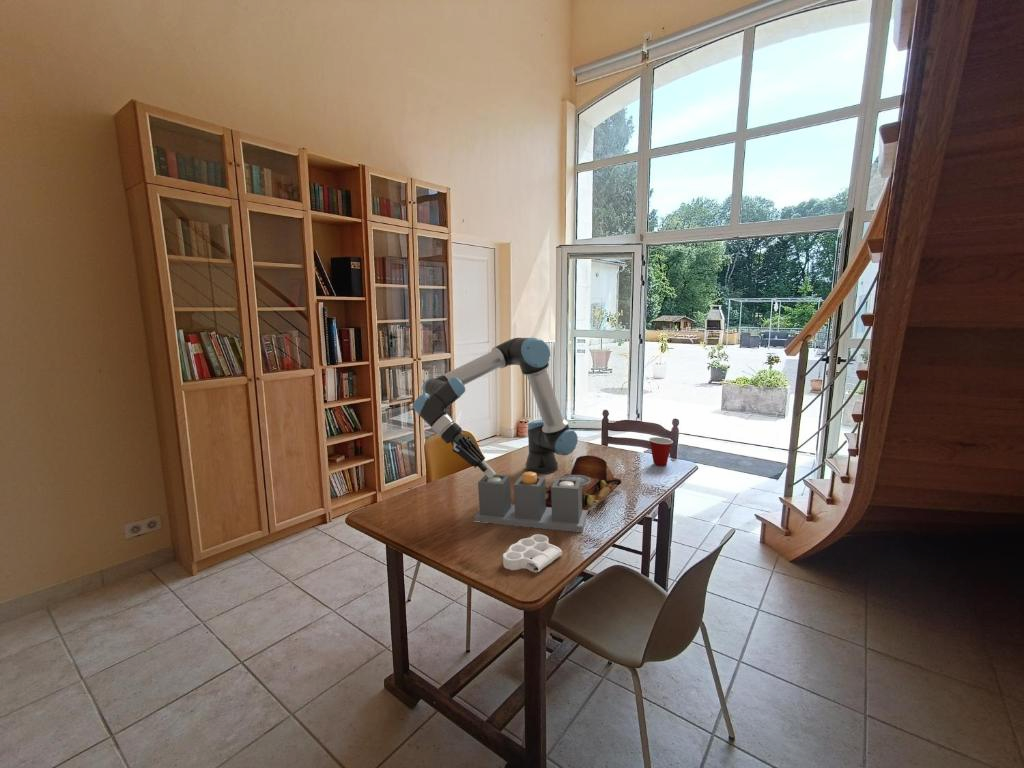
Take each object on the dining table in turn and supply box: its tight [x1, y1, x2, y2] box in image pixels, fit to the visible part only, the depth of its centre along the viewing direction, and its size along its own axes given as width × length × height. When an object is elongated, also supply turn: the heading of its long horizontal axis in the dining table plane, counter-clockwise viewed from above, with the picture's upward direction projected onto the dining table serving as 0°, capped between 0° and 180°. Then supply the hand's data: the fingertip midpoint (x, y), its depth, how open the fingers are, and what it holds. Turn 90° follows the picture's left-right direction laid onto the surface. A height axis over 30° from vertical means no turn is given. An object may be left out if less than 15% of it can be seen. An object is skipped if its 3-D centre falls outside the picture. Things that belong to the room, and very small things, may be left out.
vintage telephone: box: [545, 454, 622, 511], centre depth 183 cm, size 24×12×40 cm
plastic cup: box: [648, 436, 674, 467], centre depth 214 cm, size 11×11×12 cm
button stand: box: [473, 473, 588, 533], centre depth 161 cm, size 38×13×14 cm, turn 74°
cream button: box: [559, 481, 574, 487], centre depth 157 cm, size 5×5×4 cm
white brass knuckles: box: [502, 533, 563, 573], centre depth 136 cm, size 3×18×15 cm
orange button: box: [521, 471, 538, 485], centre depth 160 cm, size 5×5×4 cm
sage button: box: [487, 477, 501, 482], centre depth 164 cm, size 5×5×4 cm
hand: (493, 476), depth 163 cm, fingers closed
